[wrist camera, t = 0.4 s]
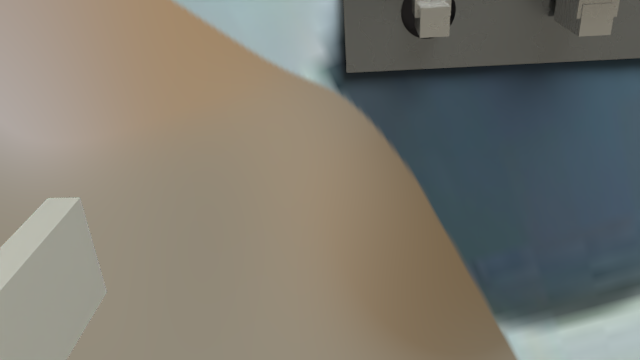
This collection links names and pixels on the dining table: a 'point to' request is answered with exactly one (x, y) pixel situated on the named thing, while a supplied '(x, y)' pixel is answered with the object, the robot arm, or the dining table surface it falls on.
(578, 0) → the block
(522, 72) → the dining table surface
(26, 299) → the robot arm
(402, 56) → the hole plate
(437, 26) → the beam
